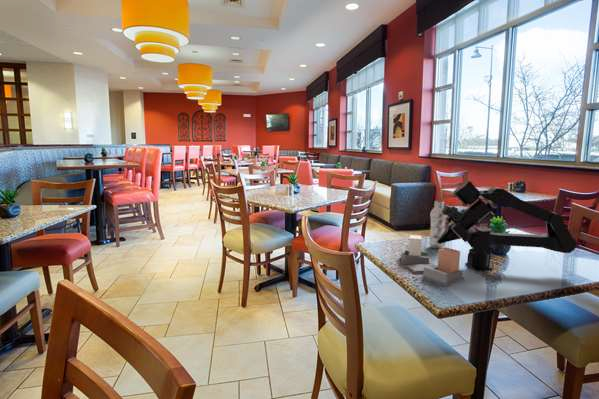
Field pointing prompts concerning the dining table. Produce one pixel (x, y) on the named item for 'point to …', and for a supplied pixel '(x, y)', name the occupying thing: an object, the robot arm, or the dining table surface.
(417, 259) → the grey tray
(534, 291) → the dining table surface
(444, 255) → the terracotta key
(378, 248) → the dining table surface
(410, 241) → the cream key
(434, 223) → the plastic bottle
